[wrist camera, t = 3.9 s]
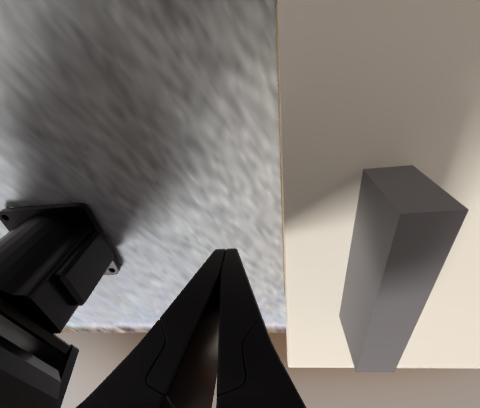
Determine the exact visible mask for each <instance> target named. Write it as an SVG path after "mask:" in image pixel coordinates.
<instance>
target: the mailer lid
mask: <svg viewBox="0 0 480 408" xmlns="http://www.w3.org/2000/svg"><path fill="white" fill-rule="evenodd" d="M277 9H278V45H279V81H280V117H281V153H282V189H283V225H284V261H285V297H286V333H287V360H288V367H299V368H300V367H302V368H305V367H307V368H308V367H309V368H314V367H315V368H355V370H356V372H395V370H396V368H480V0H277Z"/></svg>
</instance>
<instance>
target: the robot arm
mask: <svg viewBox="0 0 480 408" xmlns="http://www.w3.org/2000/svg"><path fill="white" fill-rule="evenodd" d="M80 210H81V211H80ZM0 220H1V221H2V223H3V224H4V225H5V226H6V228H7V229H8V230H9V231H10V232H9V233H7V234H6V235H5V236H4V237H2V238H1V239H0V408H61V404H62V401H63V398H64V395H65V392H66V389H67V386H68V383H69V380H70V377H71V374H72V370H73V367H74V364H75V361H76V358H77V355H78V352H79V349H78V348H76V347H75V346H73V345H69V344H67V343H66V342H65V341H63V340H62V339H60V338H59V337H57V336H56V335H55V333H60V332H61V331H62V329H63V328H64V326H65V325H66V323H67V322H68V321H69V319H70V318H71V316H72V315H73V313H74V312H75V310H76V309H77V307H78V306H81V305H83V304H84V303H85V302H86V300H87V299H88V297H89V296H90V294H91V293H92V291H93V290H94V288H95V287H96V285H97V284H98V282H99V281H100V279H101V278H102V276H103V275H115V274H118V272H119V271H120V269H121V267H120V264H119V263H118V261H117V259H116V257H115V255H114V253H113V251H112V249H111V248H110V246H109V244H108V242H107V240H106V238H105V236H104V234H103V232H102V231H101V229H100V227H99V225H98V223H97V221H96V219H95V217H94V216H93V214H92V212H91V210H90V208H89V207H88V206H87V205H86V204H83V203H72V204H58V205H44V206H31V207H17V208H5V209H3V210H1V211H0ZM217 371H218V372H217ZM216 377H217V406H216V408H306V406H305V404H304V403H303V401H302V399H301V397H300V395H299V393H298V392H297V390H296V388H295V386H294V384H293V382H292V380H291V378H290V377H289V375H288V373H287V371H286V369H285V367H284V365H283V363H282V362H281V360H280V358H279V356H278V354H277V352H276V349H275V348H274V346H273V343H272V341H271V339H270V337H269V334H268V331H267V329H266V326H265V323H264V321H263V319H262V316H261V313H260V310H259V307H258V305H257V302H256V299H255V297H254V294H253V291H252V288H251V286H250V283H249V280H248V278H247V275H246V272H245V269H244V267H243V264H242V261H241V259H240V256H239V253H238V250H237V249H236V248H234V249H227V250H225V249H216V250H215V251H214V252H213V253H212V254H211V255H210V257H209V258H208V259H207V260H206V262H205V263H204V264H203V265H202V267H201V268H200V269H199V270H198V272H197V273H196V274H195V275H194V277H193V278H192V279H191V280H190V281H189V283H188V284H187V285H186V286H185V288H184V289H183V290H182V291H181V293H180V294H179V295H178V296H177V298H176V299H175V300H174V301H173V303H172V304H171V305H170V306H169V308H168V309H167V310H166V311H165V313H164V314H163V315H162V316H161V317H160V320H158V321H157V322H156V324H155V325H154V326H153V327H152V329H151V330H150V331H149V332H148V333H147V335H146V336H145V337H144V338H143V339H142V340H141V342H140V343H139V344H138V345H137V346H136V347H135V348H134V349H133V350H132V352H131V353H130V354H129V355H128V356H127V357H126V358H125V359H124V360H123V361H122V362H121V363H120V364H119V365H118V366H117V367H116V368H115V369H114V370H113V371H112V373H111V374H110V375H109V376H108V377H107V378H106V379H105V380H104V381H103V382H102V383H101V384H100V385H99V386H98V387H97V388H96V389H95V390H94V391H93V392H92V393H91V394H90V395H89V396H88V397H87V398H86V399H85V400H84V401H83V402H82V403H81V404H80V405H79V406H77V407H76V408H212V402H213V395H214V389H215V384H216Z"/></svg>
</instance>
